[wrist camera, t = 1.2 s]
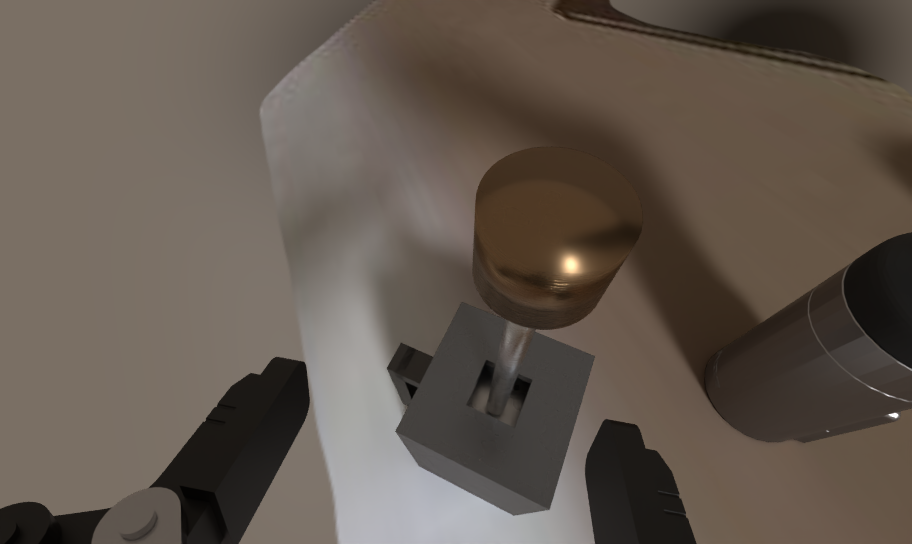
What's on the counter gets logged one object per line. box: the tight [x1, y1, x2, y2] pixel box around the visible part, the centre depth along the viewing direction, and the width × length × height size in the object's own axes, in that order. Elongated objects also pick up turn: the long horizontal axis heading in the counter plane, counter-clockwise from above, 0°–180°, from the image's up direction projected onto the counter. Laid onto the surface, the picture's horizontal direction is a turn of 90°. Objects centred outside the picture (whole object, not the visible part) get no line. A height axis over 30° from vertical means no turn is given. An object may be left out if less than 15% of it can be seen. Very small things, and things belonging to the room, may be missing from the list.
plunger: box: [467, 147, 643, 427], centre depth 18 cm, size 7×7×20 cm
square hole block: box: [387, 302, 595, 516], centre depth 31 cm, size 12×9×16 cm
